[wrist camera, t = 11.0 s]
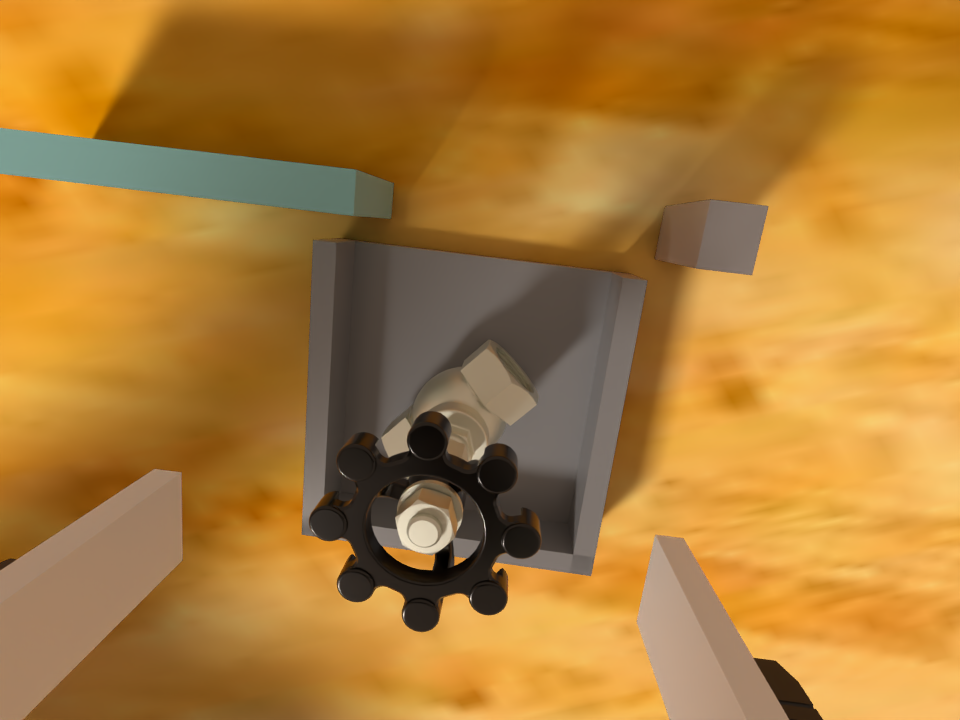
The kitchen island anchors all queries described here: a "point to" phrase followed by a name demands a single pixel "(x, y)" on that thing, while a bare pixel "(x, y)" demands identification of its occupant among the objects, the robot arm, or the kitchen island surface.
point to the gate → (195, 174)
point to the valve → (438, 490)
